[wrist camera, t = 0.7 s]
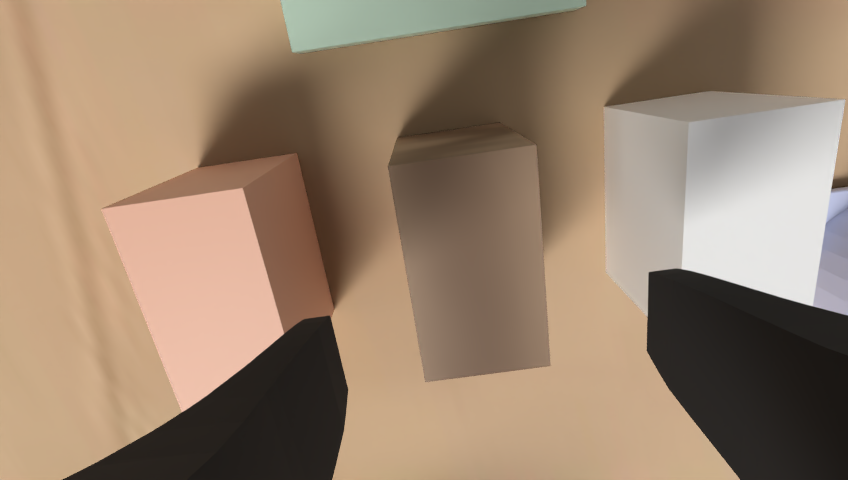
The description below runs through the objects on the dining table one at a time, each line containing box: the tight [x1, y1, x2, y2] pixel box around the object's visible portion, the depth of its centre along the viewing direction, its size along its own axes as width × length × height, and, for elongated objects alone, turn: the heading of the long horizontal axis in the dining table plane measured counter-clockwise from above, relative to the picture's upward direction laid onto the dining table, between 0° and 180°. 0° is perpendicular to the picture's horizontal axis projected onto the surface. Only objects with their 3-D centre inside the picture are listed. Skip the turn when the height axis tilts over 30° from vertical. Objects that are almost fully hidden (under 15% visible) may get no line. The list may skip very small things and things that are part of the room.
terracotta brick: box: [101, 153, 334, 412], centre depth 17 cm, size 4×7×6 cm, turn 8°
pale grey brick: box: [604, 91, 845, 317], centre depth 16 cm, size 4×7×6 cm, turn 8°
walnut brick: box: [388, 122, 550, 382], centre depth 16 cm, size 4×7×6 cm, turn 8°
